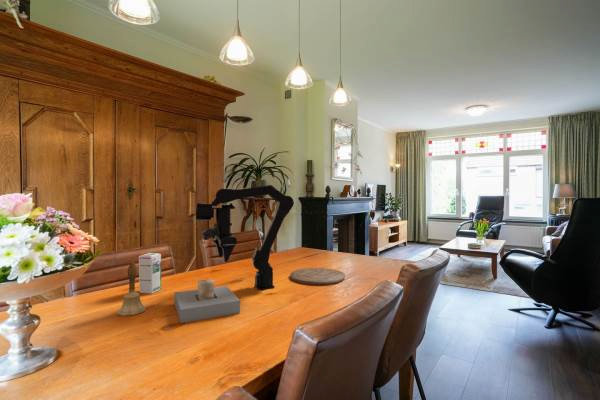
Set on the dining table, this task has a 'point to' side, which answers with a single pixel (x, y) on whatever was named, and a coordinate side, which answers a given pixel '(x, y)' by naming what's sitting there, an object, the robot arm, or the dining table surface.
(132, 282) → the hand bell
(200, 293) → the birch peg
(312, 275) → the trivet
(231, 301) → the socket block
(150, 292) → the syrup box
